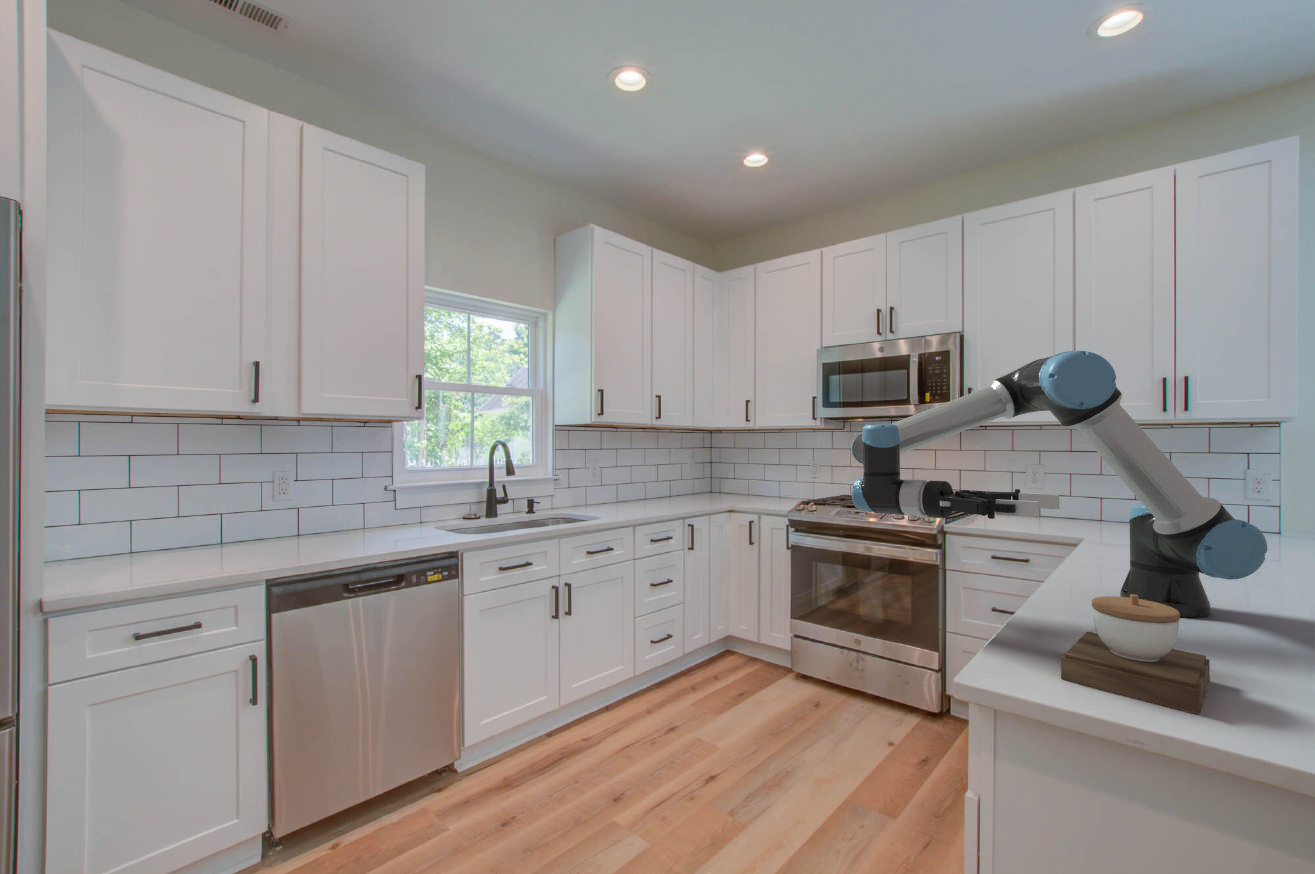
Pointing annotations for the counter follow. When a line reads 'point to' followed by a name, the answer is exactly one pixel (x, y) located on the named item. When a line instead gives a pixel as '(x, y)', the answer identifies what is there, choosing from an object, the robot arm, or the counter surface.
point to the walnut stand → (1139, 674)
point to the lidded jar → (1136, 627)
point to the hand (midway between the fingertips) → (1049, 505)
